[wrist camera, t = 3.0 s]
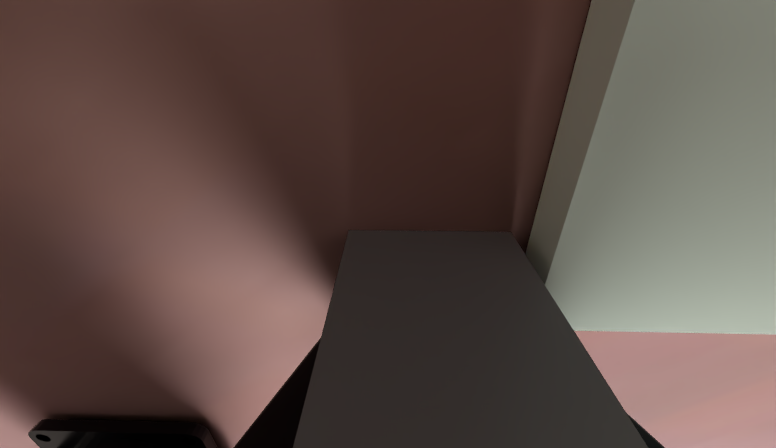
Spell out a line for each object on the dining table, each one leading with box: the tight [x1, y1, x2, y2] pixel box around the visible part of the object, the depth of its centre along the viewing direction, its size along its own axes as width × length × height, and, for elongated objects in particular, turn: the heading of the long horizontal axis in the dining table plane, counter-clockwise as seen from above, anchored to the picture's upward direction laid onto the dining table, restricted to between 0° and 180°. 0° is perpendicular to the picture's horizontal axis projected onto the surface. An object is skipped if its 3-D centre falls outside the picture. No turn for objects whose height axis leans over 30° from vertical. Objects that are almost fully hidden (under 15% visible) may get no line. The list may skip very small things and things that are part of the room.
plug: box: [293, 230, 648, 448], centre depth 7 cm, size 4×5×5 cm
